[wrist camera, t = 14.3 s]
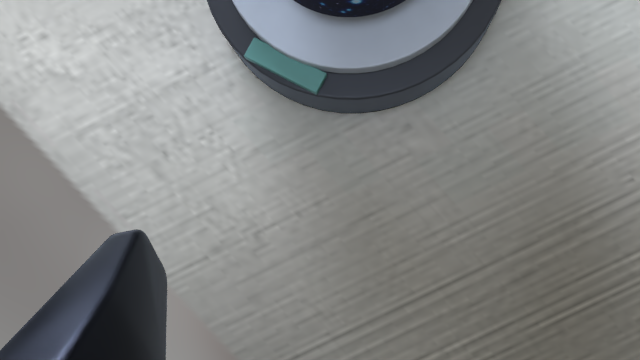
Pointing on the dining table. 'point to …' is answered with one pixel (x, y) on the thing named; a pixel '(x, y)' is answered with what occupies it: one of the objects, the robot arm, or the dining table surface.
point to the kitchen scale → (354, 49)
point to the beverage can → (349, 6)
